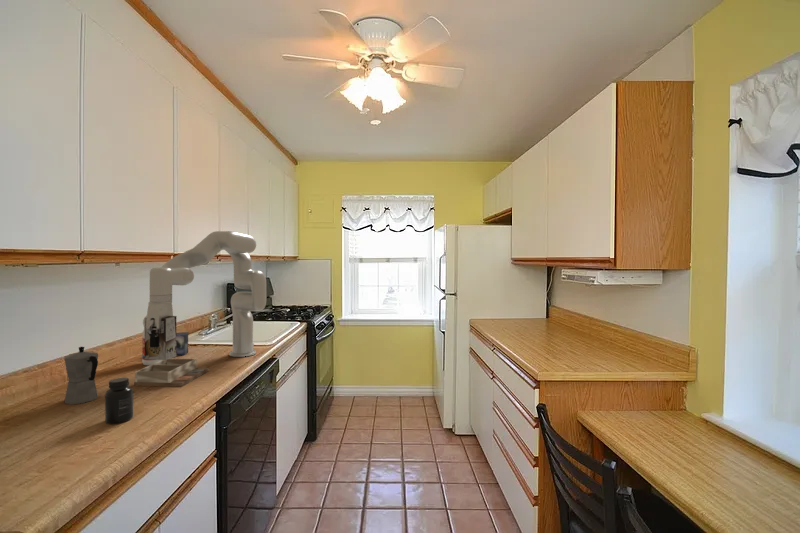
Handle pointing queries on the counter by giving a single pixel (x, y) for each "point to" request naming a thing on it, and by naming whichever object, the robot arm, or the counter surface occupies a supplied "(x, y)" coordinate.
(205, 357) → the counter surface
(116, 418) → the supplement bottle
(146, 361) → the fruit juice
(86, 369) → the coffeepot
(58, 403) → the counter surface
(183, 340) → the small box
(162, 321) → the coffee box
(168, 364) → the beige divided tray
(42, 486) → the counter surface
